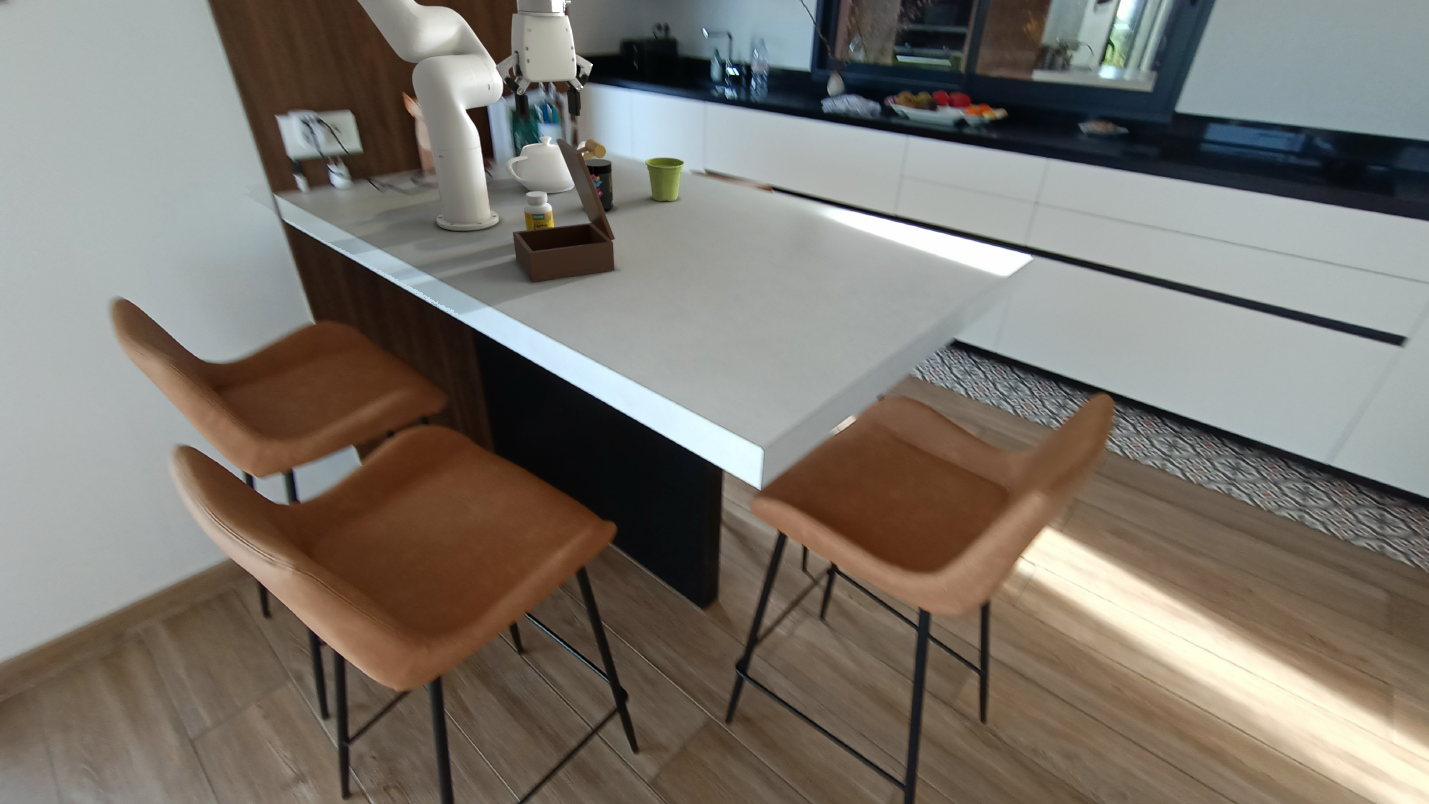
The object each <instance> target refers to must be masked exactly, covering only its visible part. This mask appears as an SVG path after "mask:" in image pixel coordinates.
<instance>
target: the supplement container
mask: <svg viewBox="0 0 1429 804" xmlns="http://www.w3.org/2000/svg"><path fill="white" fill-rule="evenodd" d="M584 161H585V163H586V166H587V168H588V171H589V173H590V176H591V179H592V181H593V184H594V186H595V189H596V191H597V194H598V196H599V199H600V202H601V204H602V207H603V209H604V212H605V213H608V212H610V211H612V210H613V209H614V188H613V186H614V185H613V163H612V161H611V160H609V159H604V158H589V159H587V160H584Z"/></svg>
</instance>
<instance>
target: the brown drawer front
mask: <svg viewBox="0 0 1429 804" xmlns="http://www.w3.org/2000/svg"><path fill="white" fill-rule="evenodd" d="M555 141H556V143H557V144H558V146H559V148H560V151H561V153H562V156H563V158H564V160H565V163H566V165H567V168H568V170H569V173H570V175H571V177H572V180H573V182H574V185H575V186H574V187H575V190H576V192H577V195H578V197H579V200H580V202H581V204H582V207H583V209H584V211H585V214H586V216H587V219H588V221H589V223H592V224H593V225H594V226H595V227H597V228H598V229H599V230H600V231H601V232H602V233H603V234H604V235H605V236H607V237H608V238H609V239H610V240H611V241H612V242H613V240H615V239H616V238H615V235H614V233H613V229H612V227H611V225H610V222H609V220H608V216H607V215H606V212H604V209H603V207H602V204H601V202H600V199H599V196H598V194H597V191H596V189H595V186H594V184H593V181H592V179H591V176H590V173H589V171H588V168H587V166H586V163H585V161H584V160H589V159H592V158H593V157H596V159H604V157H606V154H607V149H606V147H605V146H604V145H603V144H601V143H600V142H598V141H596V140H594V139H593V138H589V139H587V140H585V141H586V143H585V147H582V148H580V149H578V150H577V148H575V146H572V145H570V144H569V143H568V142H566V141H565V140H563V139H562V138H557V139H555ZM586 152H587V153H586ZM582 153H583V155H582ZM584 153H585V154H584Z"/></svg>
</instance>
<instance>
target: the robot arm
mask: <svg viewBox="0 0 1429 804" xmlns="http://www.w3.org/2000/svg"><path fill="white" fill-rule="evenodd" d="M357 2H358V3H359V4H360V5H361V7H362V8H363V10H364V11H365V12H366V13H367V15H368V17H369V18H370V19H371V21H372V22H373V24H374V25H375V26H376V28H377V29H378V30H379V32H380V33H381V35H382V36H383V37H384V39H385V40H386V42H387V43H388V44H389V46H390V47H391V48H392V50H393V51H394V52H395V53H396V55H397V56H398V57H399V58H401V59H402V60H403V61H405V62H408V63H413V64H414V63H415V64H416V65H415V67H414V69H413V71H412V76H411V79H412V80H411V81H412V86H413V90H414V93H415V96H416V99H417V101H418V104H419V106H420V109H421V112H422V115H423V118H424V122H425V126H426V131H427V136H428V141H429V146H430V150H431V156H432V161H433V167H434V172H435V177H436V183H437V187H438V188H437V189H438V193H439V198H440V199H439V200H440V205H441V210H442V213H440V214H439V215H437V217H436V219H435V221H436V224H437V226H438V227H440V228H441V229H444V230H449V231H457V232H469V231H479V230H483V229H488V228H491V227H493V226H495V225H497V224H498V223H499V222H500V217H499V214H498V213H497V212H496V211H494V210H491V207H490V201H489V193H488V187H487V179H486V173H485V166H484V159H483V153H482V146H481V139H480V135H479V131H478V128H477V127H476V125H475V123H474V122H473V120H472V119H471V118H470V115H469V114H468V113H467V110H470V109H475V108H481V107H487V106H490V105H493V104H495V103H497V102H498V101H499V100H500V99H501V97H502V95H503V92H504V91H503V90H504V85H505V86H506V87H507V88H508V89H509V90H510V91H511V93H513V94H514V95H513V96H514V105H515V111H516V112H515V113H516V115H518V118H520V119H522V120H524V121H529V120H530V119H531V116H530V115H531V114H530V105H529V96H528V95H527V94H526V90H527V89H528V87H529V86H530V84H531V83H549V82H565V84H566V85H567V86H568V88H569V89H567V91H566V97H567V109H568V111H567V112H568V114H569V115H572V116H574V117H580V116H581V110H582V101H581V100H582V99H581V93H582V92H583V89H584V86H585V85H586V84H587V82H588V81H589V76H590V74H591V71H592V68H593V64H592V63H591V61H589V60H587V59H585V58H584V57H582V56H580V55H578V54H577V53H576V50H575V43H574V42H575V41H574V35H573V30H572V26H571V22H570V18H569V15H567V14H565V12H566V8H569V7H571V4H572V3H571V0H516V9H517V13H512V17H511V18H512V19H511V55H510V56H509V55H508V57H507V58H505V59H503V60H501V61H500V62H499V63H497V64H496V63H495V61H494V59H493V57H492V56H491V54H490V53H489V52H488V50H487V49H486V47H485V46H484V45H483V43H482V42H481V41H480V39H479V38H478V36H477V35H476V34H475V32H474V30H473V29H472V28H471V26H470V25H469V23H468V22H467V21H466V20H465V19H464V18H463V16H461V15H460V13H458V12H456V11H455V10H454V9H452V8H449V7H446V6H441V5H439V6H438V5H422V4H419V3H418V2H417V1H415V0H357ZM577 66H579V67H580V72H579V73H578V75H577ZM510 69H512V72H513V75H514V77H516V78H515V80H514V79H513V78H512V77H511V75H510V73H509V71H510Z"/></svg>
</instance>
